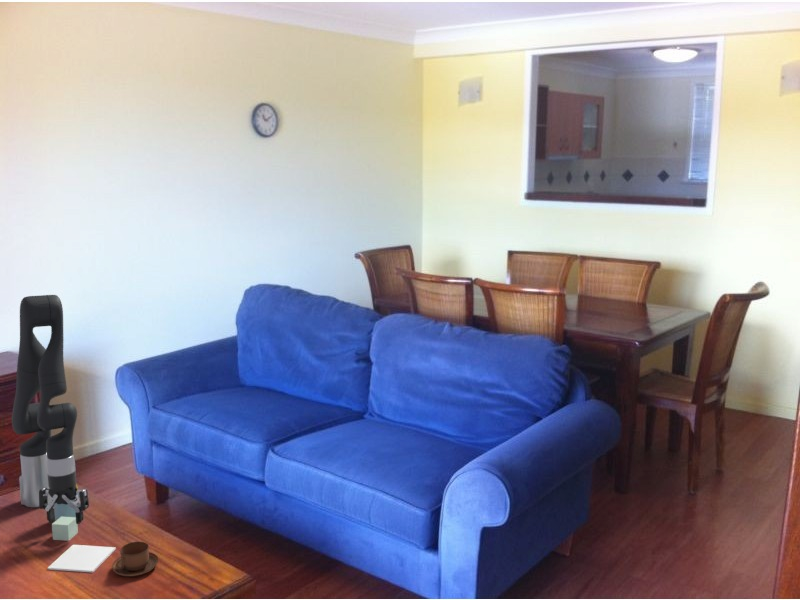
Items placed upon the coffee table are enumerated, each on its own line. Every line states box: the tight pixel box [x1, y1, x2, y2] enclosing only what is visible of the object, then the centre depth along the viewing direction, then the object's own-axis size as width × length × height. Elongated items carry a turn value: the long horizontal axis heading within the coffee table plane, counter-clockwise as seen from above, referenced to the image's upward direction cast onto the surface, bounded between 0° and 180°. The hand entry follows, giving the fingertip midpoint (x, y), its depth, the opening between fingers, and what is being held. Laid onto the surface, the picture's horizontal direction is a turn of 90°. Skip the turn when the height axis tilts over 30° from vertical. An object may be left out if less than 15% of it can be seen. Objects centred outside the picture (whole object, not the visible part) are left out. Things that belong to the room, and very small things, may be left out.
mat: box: [47, 544, 117, 574], centre depth 212 cm, size 13×13×1 cm
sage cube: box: [51, 517, 79, 542], centre depth 225 cm, size 5×5×5 cm
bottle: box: [53, 483, 80, 521], centre depth 234 cm, size 7×7×15 cm
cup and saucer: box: [111, 541, 159, 577], centre depth 207 cm, size 12×12×6 cm
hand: (65, 522), depth 224 cm, fingers open, 8 cm apart
